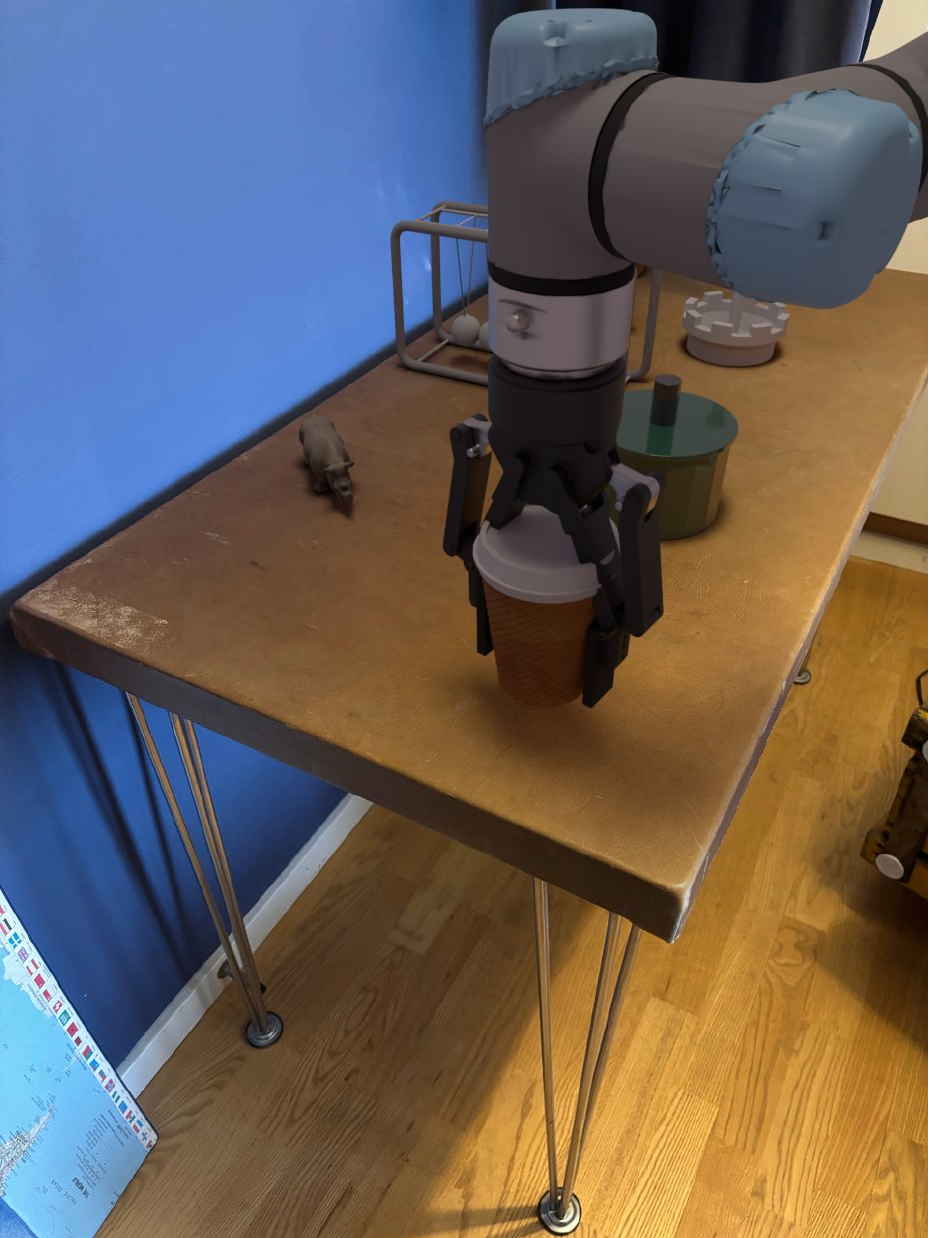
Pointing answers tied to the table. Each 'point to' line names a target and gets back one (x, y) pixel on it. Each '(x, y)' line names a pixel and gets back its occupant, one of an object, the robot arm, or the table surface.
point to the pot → (681, 492)
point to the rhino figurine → (327, 456)
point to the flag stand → (733, 328)
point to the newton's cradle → (467, 326)
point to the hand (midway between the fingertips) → (543, 669)
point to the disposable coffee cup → (537, 606)
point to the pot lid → (673, 423)
